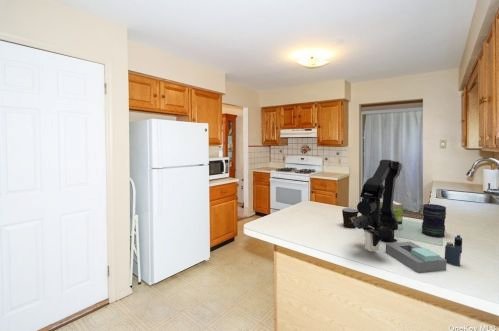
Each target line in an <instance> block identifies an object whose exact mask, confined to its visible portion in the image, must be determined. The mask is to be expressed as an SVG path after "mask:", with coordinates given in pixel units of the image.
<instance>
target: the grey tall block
mask: <svg viewBox="0 0 499 331" xmlns="http://www.w3.org/2000/svg"><path fill="white" fill-rule="evenodd" d="M373 230H374V229H365V232H364V249H365V250H367V251H368V252H379V250H380V241H379V242H378V244H377V245H376V246H373V238H372V234H371V233H370V232H372V231H373Z"/></svg>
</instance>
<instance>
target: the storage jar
mask: <svg viewBox="0 0 499 331" xmlns="http://www.w3.org/2000/svg"><path fill="white" fill-rule="evenodd" d="M422 207H423V208H422V222H421V233H422V235H424V236H426V237H430V238H436V239H439V238H445V233H446V225H445V224H446V215H447V207H446V206H444V205H441V204H434V203H425V204H423V205H422Z"/></svg>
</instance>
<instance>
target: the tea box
mask: <svg viewBox="0 0 499 331" xmlns="http://www.w3.org/2000/svg"><path fill="white" fill-rule="evenodd" d="M382 202H383V198H381V199H380V209H381V207H382ZM392 209H393V211H394V212H395V214H396V216H395V218H396V220H397V222H398V230H397V231H402V230H403V215H404V204H403V203H401V202H398V201H396V200H393V208H392Z"/></svg>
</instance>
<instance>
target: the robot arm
mask: <svg viewBox="0 0 499 331" xmlns="http://www.w3.org/2000/svg"><path fill="white" fill-rule="evenodd" d="M402 169H403V164H402V163H401V162H400V161H398V160H397V161H396V160H391V159H380V161H379V165H378V167H377V168H376V170H375V172H374V174H373V176H371V177H370V178H368V179H366V180H365V182H364V183H363V185H362V189H361V191H360V192H361V193H360V196H359V197H360V198H361V201H359V202H358V203H357V205H356V209H357V210H358V212H359V213H358V214H360V215H359V216H358V215H357V217H356V218H354V219H352V220H353V223H354V226H355V227H356V228H357V229H359V230H361V229H362V230H363V231H364V233H365V229H374V230H373V231H372V232H370V233H371V234H372V238H373V246H376V245H377V244H378V242H379V243H380V241H382V242H384V243H393V242H397V239H395V231H399V230H398V222H397V220H396V218H395V216H396V214H395V212H394V211H393V209H392V208H393V201H394V197H395V188H396V180H397V179H398V177H399V176H400V174H401V171H402ZM380 199H383V202H382V207H381V209H380Z"/></svg>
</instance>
